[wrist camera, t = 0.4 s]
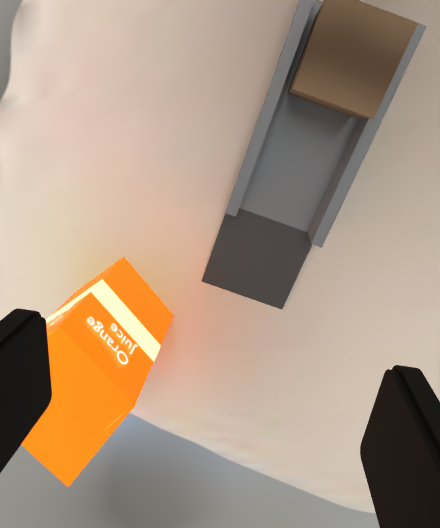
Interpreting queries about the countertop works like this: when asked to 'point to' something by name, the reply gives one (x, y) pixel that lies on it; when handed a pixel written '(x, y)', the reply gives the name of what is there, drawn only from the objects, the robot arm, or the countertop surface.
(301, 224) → the chute
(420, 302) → the countertop surface
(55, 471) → the orange juice
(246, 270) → the mat
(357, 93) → the block
